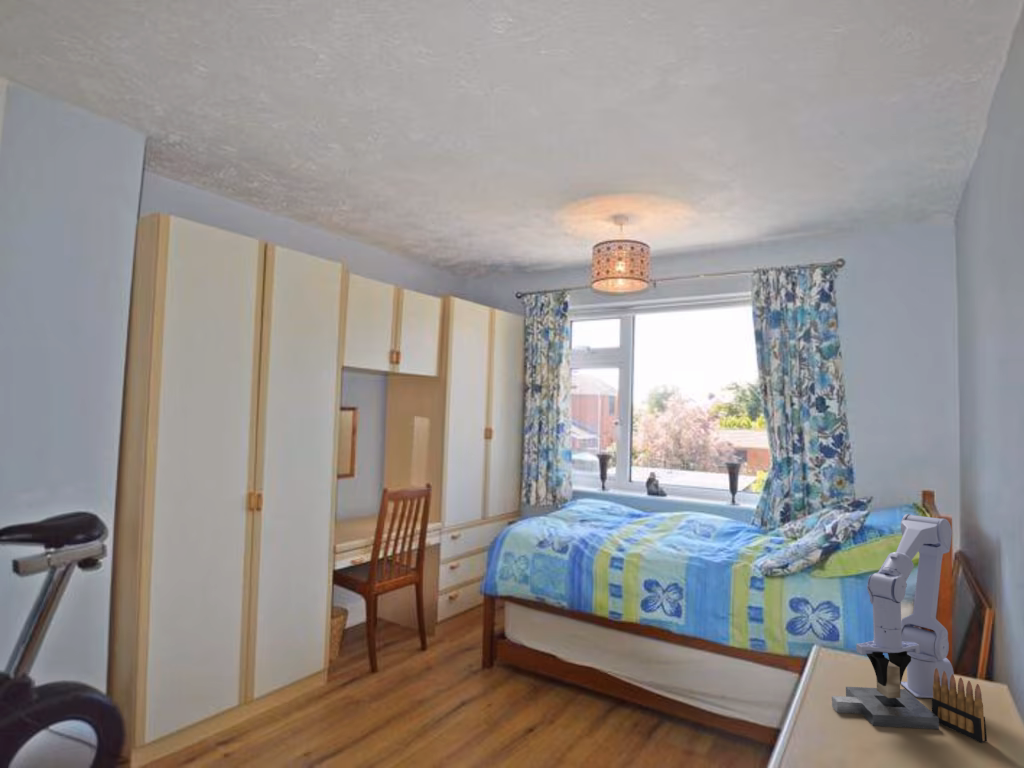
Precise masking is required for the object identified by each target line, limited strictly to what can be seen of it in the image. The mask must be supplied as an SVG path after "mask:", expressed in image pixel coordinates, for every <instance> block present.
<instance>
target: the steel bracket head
mask: <svg viewBox="0 0 1024 768" xmlns="http://www.w3.org/2000/svg"><path fill="white" fill-rule="evenodd" d="M900 697H901V698H887V697H886V696H884V695H883V694H881V693H880V692H878V691H877V687H866V686H865V687H862V686H845V695H844V696H843V695H842V696H841V695H840V696H839V695H831V707H832V708H833V709H834V711H835V712H836V713H839V714H859V715H862V716H863V717H865V719H866V720H867V721H868V722H869V723H870V724H871V726H873V727H889V728H890V727H891V728H906V729H907V728H908V729H925V730H926V729H927V730H930V729H931V730H939V729H940V724H939V718H938V717H937V716H936V715H935V714H934V713H933V712H932V710H930V709H929V708H928V707H926V705H924V704H923V702H921V701H920V700H919V699H917V697H915V696H914V695H913V694H912V693H911V692H910V691H908V690H907V689H906V688H900Z"/></svg>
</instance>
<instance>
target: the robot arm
mask: <svg viewBox="0 0 1024 768" xmlns="http://www.w3.org/2000/svg"><path fill="white" fill-rule="evenodd" d="M900 531H901V535H902V537H901V538H900V540H899V541H900V542H899V544H898V546H897V549H896V550H895V551H894V552H890V553H889V554H887V556H886V558H885V560H884V562H883V563H882V564H881V567H880V568H879V570H878V571H877V572H875V573H872V574H870V575H869V577H868V579H867V580H868V581H867V585H866V590H867V593H868V595H869V600H870V601H869V602H870V604H871V605H872V622H873V638H872V639H873V640H869V641H867V642H862V643H861V642H860V643H856V645H855V646H856V653H858V654H859V655H861V656H867V657H868V660H869V662H870V663H871V665H872V667H873V670H874V673H875V677H877V679H876V682H877V681H878V683H880V684H881V685H883V686H886V683H887V667H888V663H889V661H890V662H891V663H893V664H895V665H896V666H898V667H900V686H902V687H903V688H904V689H906V690H907V691H908V692H909V693H910V694H911V695H913V696H914V697H915V698H920V699H932V698H933V680H934V671H935V668H937V670H938V672H939V677H940V685H941V683H942V674H943V671H945V673H946V675H947V679H948V688H949V690H950V677H951V675H952V674H953V675H954V674H955V673H954V668H953V664H952V663H951V661H950V660H949V659H948V657H947V656H948V655H949V648H950V647H949V646H950V644H949V632H948V630H947V628H946V627H945V626H944V625H943V624H942V623H941V622H940V621H939V620H938V619H937V611H938V602H939V601H938V599H939V592H940V582H941V581H940V580H941V571H942V562H943V556H944V554H948V553H950V550H951V548H952V547H951V546H952V536H953V535H952V534H953V529H952V526H951V524H950V521H949V520H948V519H947V518H938V517H929V516H923V515H913V514H910V513H906V514H904V515H903V517H902V519H901V521H900ZM918 553H919V557H918V565H917V574H916V582H915V593H914V599H913V601H914V602H913V609H912V610H913V611H912V613H911V614H909V615H907V616H905V617H903V618H902V603H901V602H903V600H904V599H905V596H906V589H907V585H908V584H907V581H908V579H909V577H910V575H911V573H912V571H913V569H914V567H915V565H914V563H913V559H914V558H915V556H916V555H917V554H918ZM919 627H921V628H919ZM923 628H924V629H923ZM927 629H928V630H927ZM931 630H933V631H931ZM885 654H887V655H888V658H887V657H886V656H885ZM905 671H906V678H907V679H906V680H907V681H902V680H903V676H904V674H905ZM954 676H955V675H954Z"/></svg>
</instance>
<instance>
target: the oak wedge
mask: <svg viewBox="0 0 1024 768" xmlns="http://www.w3.org/2000/svg"><path fill="white" fill-rule="evenodd" d="M875 677H876V676H875ZM876 688H877V691H878V692H880V693H881V694H883V695H884V696H886V697H887V698H901V697H900V689H901V685H900V667H898V666H896V665H895V664H893V663H891V662H890V661H889V663H888V667H887V683H886V686H883V685H881V684H880V683H878V681H877V677H876Z"/></svg>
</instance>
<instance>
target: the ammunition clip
mask: <svg viewBox="0 0 1024 768" xmlns="http://www.w3.org/2000/svg"><path fill="white" fill-rule="evenodd" d="M963 680H964V679H962V677H959V678H958V682H957V681H956V677H955V675H953V674H952V675H951V677H950V690H949V688H948V679H947V675H946V673H945V671H943V674H942V683H941V685H940V677H939V672H938V670H937V668H935V671H934V680H933V698H931V712H933V713H934V714H935V715H936V716H937V717H938V718H939V725H941V726H943V727H946V728H948V729H950V730H952V731H953V732H954V731H955V732H957V733H958V734H961V735H963V736H965V737H967V738H969V739H971V740H973V741H976V742H978V743H980V744H981V743H982V744H983V743H987V742H988V736H987V726H986V725H987V724H986V723H987V722H986V716H984V703H983V698H982V691H981V690H982V689H981V687H980V685H979V684H978V683H976V685H975V689H974V691H973V686H972V683H971V680H967V682H966V683H967V684H966V688H965V685H964V681H963Z"/></svg>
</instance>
